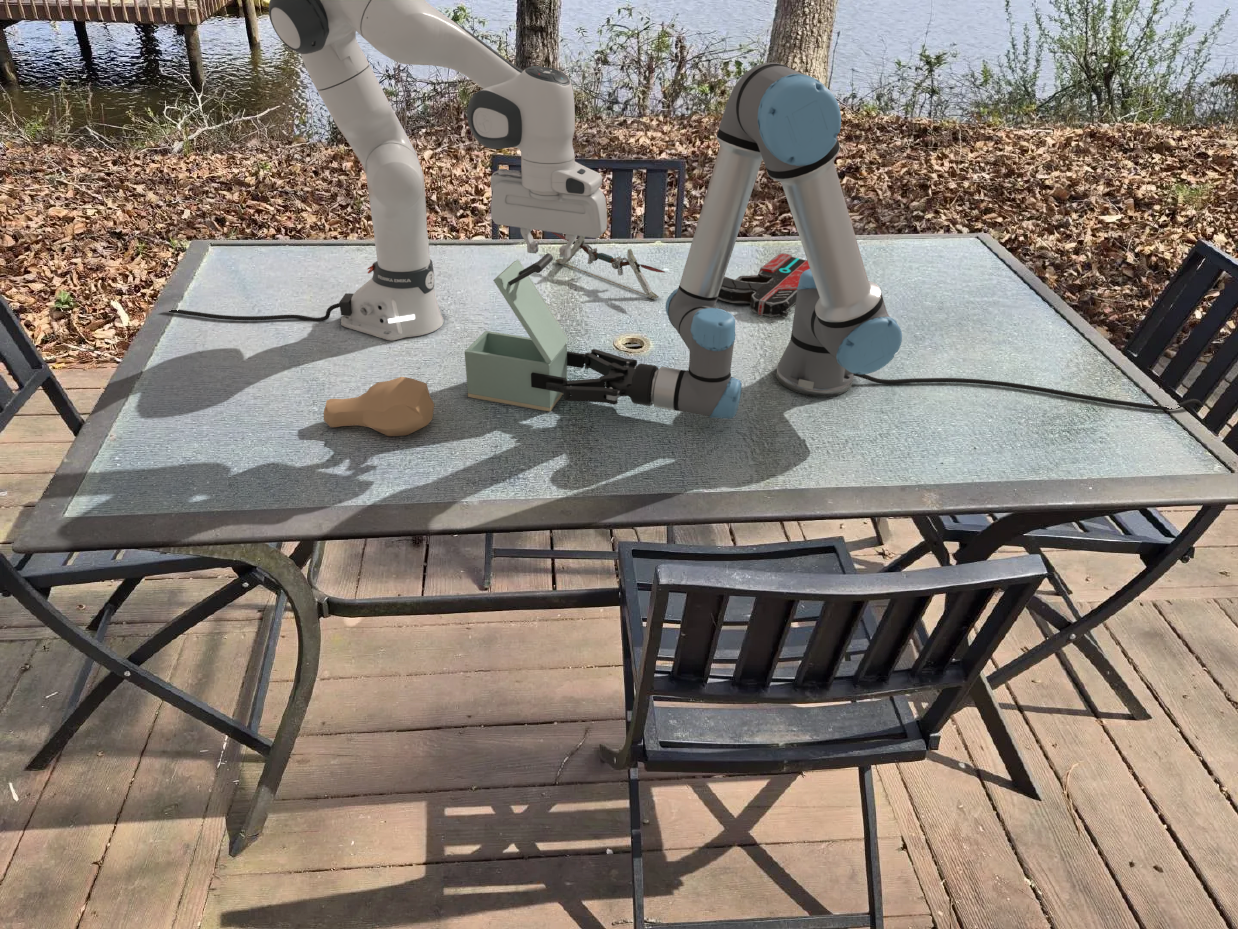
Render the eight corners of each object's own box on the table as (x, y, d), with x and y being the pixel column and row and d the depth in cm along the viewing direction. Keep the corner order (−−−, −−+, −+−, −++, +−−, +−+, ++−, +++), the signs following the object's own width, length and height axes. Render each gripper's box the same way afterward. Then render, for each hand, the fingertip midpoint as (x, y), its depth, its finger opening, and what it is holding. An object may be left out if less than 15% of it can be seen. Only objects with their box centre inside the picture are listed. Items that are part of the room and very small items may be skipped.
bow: (666, 301, 209) (668, 260, 204) (661, 303, 208) (663, 262, 203) (554, 258, 231) (553, 221, 225) (549, 260, 229) (548, 222, 224)
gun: (708, 284, 207) (784, 305, 199) (760, 245, 229) (831, 262, 221) (706, 302, 209) (781, 323, 201) (758, 261, 231) (828, 278, 223)
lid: (493, 280, 154) (529, 259, 149) (514, 261, 161) (549, 241, 157) (546, 363, 160) (583, 346, 155) (564, 341, 167) (600, 324, 163)
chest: (467, 396, 169) (464, 351, 163) (488, 374, 177) (485, 330, 171) (550, 411, 165) (549, 365, 160) (567, 388, 173) (567, 343, 167)
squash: (434, 443, 155) (421, 404, 149) (325, 451, 157) (307, 413, 150) (443, 403, 163) (431, 365, 157) (339, 412, 164) (323, 374, 158)
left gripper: (482, 172, 146) (486, 252, 153) (599, 186, 141) (597, 268, 149) (497, 162, 151) (501, 240, 158) (611, 176, 146) (609, 256, 154)
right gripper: (638, 434, 154) (520, 412, 159) (669, 377, 172) (562, 359, 177) (639, 396, 150) (518, 375, 155) (671, 342, 168) (561, 325, 173)
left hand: (548, 254), depth 153 cm, fingers open, 5 cm apart
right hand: (541, 367), depth 166 cm, fingers closed on chest, 10 cm apart
